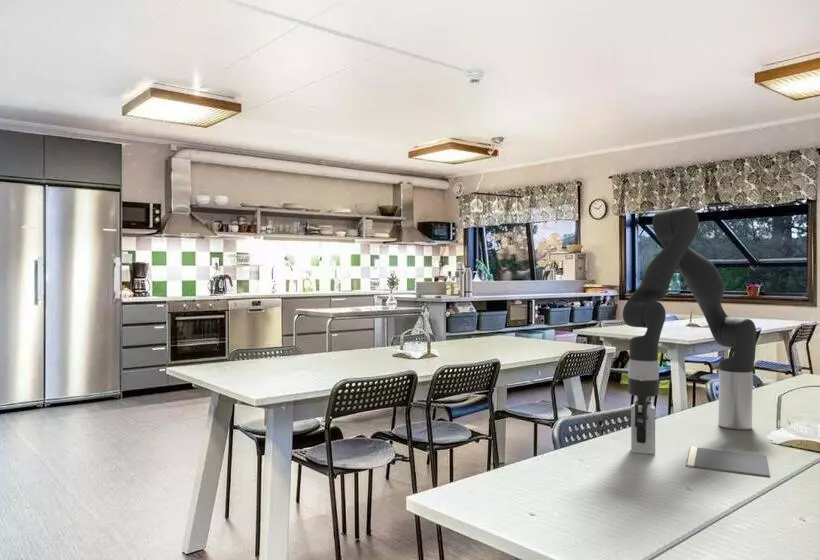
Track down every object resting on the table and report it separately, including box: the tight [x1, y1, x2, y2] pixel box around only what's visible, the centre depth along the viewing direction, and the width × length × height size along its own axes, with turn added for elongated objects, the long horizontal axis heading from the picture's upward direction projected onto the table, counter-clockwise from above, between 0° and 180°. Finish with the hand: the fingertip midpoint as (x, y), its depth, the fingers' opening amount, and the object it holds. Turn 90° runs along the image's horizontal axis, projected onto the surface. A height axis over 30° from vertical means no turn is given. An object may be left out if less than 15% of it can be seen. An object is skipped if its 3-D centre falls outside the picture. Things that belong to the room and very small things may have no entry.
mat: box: [685, 446, 771, 478], centre depth 163 cm, size 18×18×1 cm
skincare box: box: [630, 404, 656, 455], centre depth 172 cm, size 6×4×12 cm
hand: (642, 439), depth 172 cm, fingers open, 6 cm apart
